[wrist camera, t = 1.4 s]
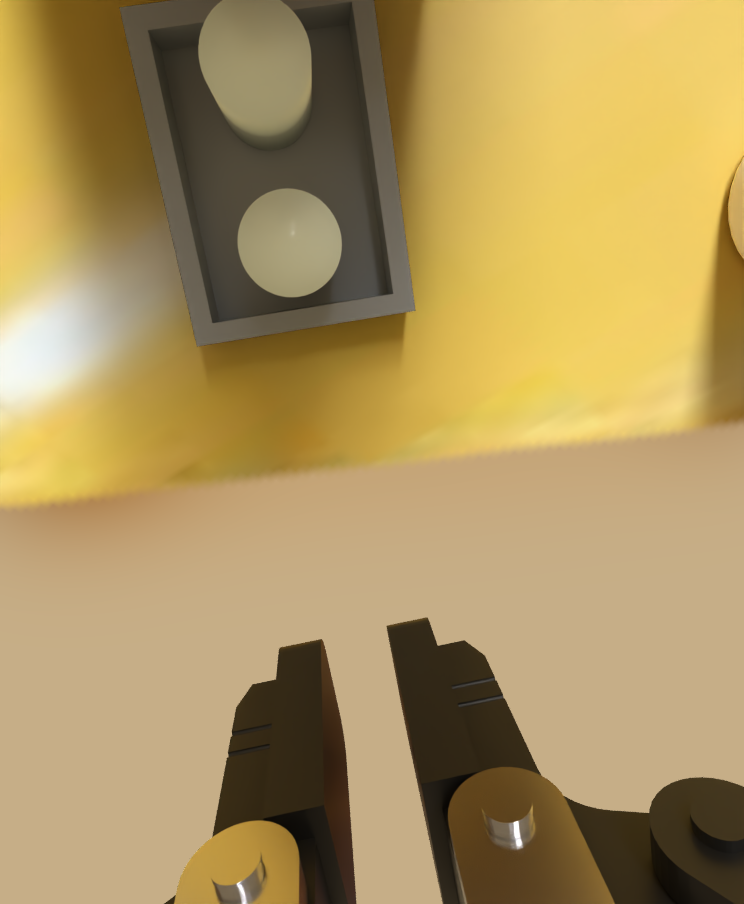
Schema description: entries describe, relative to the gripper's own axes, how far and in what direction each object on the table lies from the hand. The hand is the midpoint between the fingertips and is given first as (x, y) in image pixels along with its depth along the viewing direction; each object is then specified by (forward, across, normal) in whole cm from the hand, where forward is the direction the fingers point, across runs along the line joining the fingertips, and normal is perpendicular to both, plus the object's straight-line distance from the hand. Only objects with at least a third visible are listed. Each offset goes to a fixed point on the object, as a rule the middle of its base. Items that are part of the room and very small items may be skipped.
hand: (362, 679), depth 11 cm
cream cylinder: (+19, 0, -14) cm, 23 cm away
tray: (+19, 0, -11) cm, 22 cm away
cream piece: (+19, 0, -8) cm, 20 cm away
